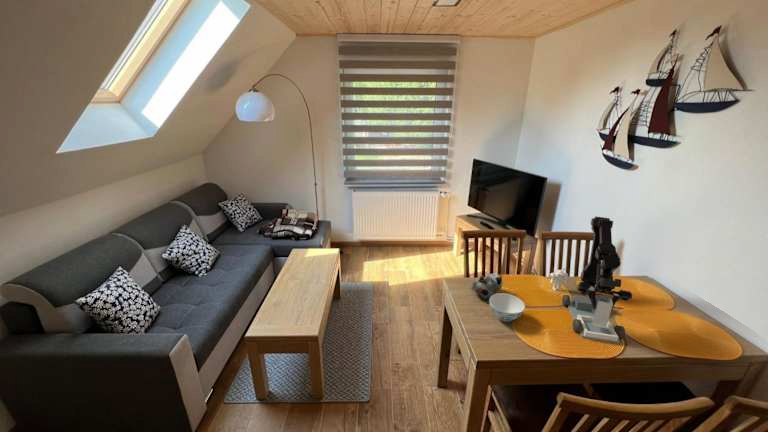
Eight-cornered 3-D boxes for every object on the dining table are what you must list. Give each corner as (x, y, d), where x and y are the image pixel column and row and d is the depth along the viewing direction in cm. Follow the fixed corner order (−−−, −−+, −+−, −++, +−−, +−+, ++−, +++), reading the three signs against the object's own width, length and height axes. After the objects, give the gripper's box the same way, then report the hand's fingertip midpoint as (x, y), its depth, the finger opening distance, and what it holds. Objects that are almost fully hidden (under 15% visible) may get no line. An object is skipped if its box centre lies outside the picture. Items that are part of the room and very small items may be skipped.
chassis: (561, 300, 162) (563, 291, 161) (602, 305, 158) (604, 296, 156) (576, 336, 138) (578, 326, 136) (625, 344, 134) (628, 334, 132)
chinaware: (527, 316, 150) (530, 302, 147) (514, 332, 140) (516, 317, 137) (496, 303, 160) (498, 289, 157) (481, 317, 150) (483, 303, 147)
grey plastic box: (590, 316, 143) (596, 293, 139) (603, 319, 141) (610, 296, 137) (591, 324, 138) (598, 300, 134) (605, 328, 136) (613, 304, 132)
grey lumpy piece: (474, 283, 176) (489, 263, 172) (493, 298, 172) (509, 277, 168) (467, 289, 163) (483, 267, 159) (488, 305, 158) (505, 283, 154)
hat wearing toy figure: (563, 287, 173) (568, 267, 169) (567, 291, 169) (571, 270, 165) (546, 286, 173) (550, 266, 169) (549, 291, 170) (553, 270, 165)
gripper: (583, 265, 138) (580, 301, 133) (637, 275, 131) (636, 313, 126) (578, 272, 148) (575, 306, 143) (628, 282, 140) (626, 318, 135)
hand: (602, 311), depth 136 cm, fingers closed on grey plastic box, 5 cm apart
